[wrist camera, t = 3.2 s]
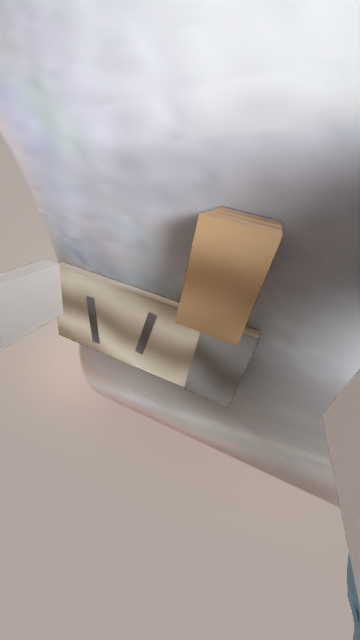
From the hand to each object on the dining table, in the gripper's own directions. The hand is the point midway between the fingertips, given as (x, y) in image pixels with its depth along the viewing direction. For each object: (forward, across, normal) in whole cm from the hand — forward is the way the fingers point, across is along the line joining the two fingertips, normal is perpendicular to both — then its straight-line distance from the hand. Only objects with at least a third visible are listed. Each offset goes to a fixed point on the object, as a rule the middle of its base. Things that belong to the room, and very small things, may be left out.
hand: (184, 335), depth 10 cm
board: (+14, -7, -11) cm, 19 cm away
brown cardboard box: (+14, 0, 0) cm, 14 cm away
